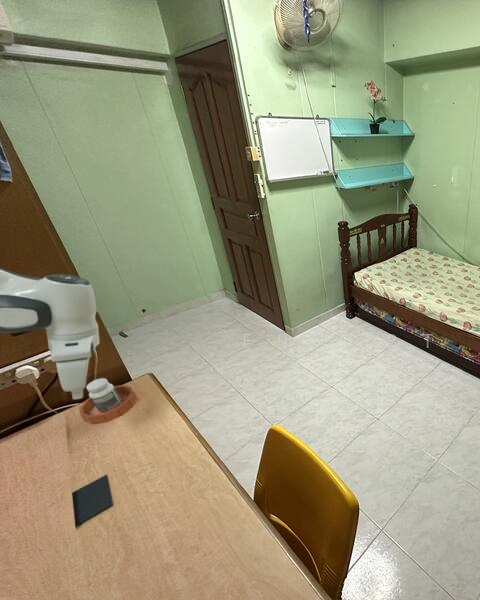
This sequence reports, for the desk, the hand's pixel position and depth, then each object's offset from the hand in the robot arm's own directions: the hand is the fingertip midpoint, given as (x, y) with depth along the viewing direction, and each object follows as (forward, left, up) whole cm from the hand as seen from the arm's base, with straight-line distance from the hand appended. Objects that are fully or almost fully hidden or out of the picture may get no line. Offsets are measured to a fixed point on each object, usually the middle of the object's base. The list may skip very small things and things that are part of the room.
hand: (79, 388), depth 81 cm
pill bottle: (+2, +11, -17) cm, 21 cm away
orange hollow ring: (+2, +11, -17) cm, 20 cm away
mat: (-8, -21, -17) cm, 28 cm away
